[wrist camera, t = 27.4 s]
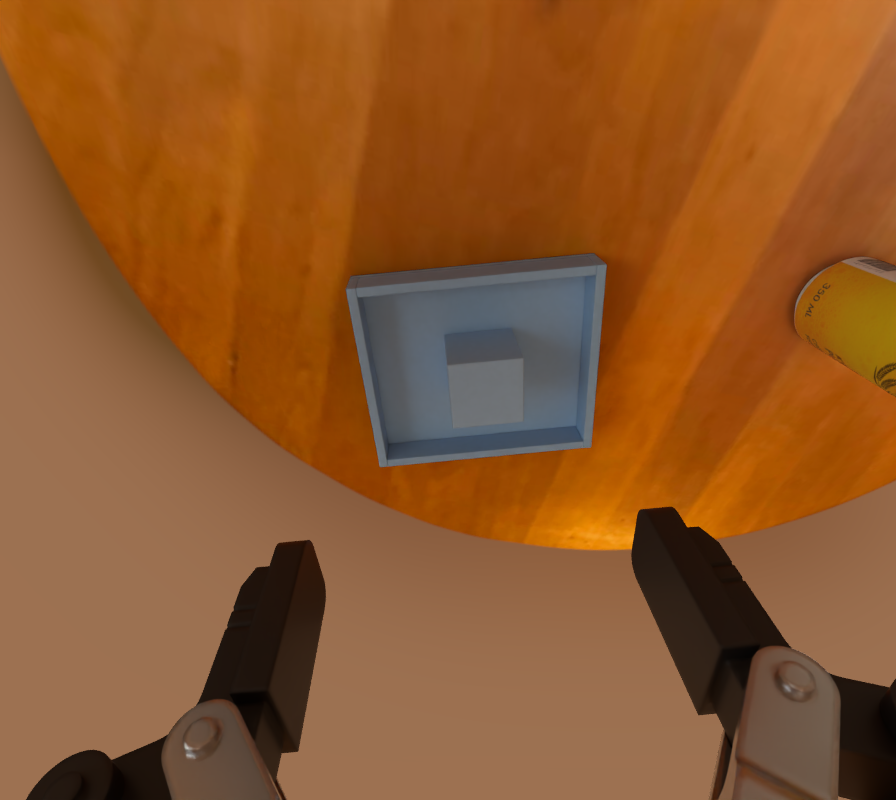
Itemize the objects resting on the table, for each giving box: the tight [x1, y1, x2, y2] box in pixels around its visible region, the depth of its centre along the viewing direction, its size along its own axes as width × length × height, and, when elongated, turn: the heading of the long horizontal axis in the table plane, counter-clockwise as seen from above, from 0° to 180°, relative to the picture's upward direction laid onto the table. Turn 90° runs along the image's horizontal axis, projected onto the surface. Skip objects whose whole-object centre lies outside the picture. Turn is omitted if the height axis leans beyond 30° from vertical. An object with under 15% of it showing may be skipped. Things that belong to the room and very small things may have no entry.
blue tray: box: [346, 253, 607, 467], centre depth 33 cm, size 15×13×2 cm
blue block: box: [444, 328, 524, 428], centre depth 32 cm, size 4×4×4 cm
